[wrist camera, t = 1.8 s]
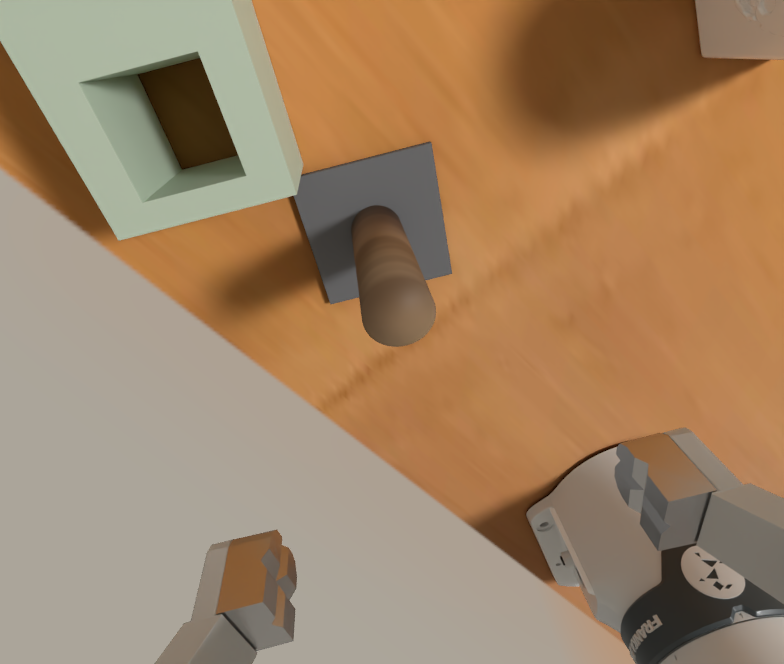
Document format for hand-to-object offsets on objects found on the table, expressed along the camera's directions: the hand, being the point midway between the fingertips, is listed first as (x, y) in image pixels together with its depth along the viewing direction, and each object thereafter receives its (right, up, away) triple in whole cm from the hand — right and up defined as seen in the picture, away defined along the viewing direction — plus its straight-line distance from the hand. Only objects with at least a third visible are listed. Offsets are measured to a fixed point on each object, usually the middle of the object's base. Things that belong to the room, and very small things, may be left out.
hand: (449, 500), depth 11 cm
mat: (-2, +10, +16) cm, 19 cm away
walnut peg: (-2, +10, +16) cm, 19 cm away
